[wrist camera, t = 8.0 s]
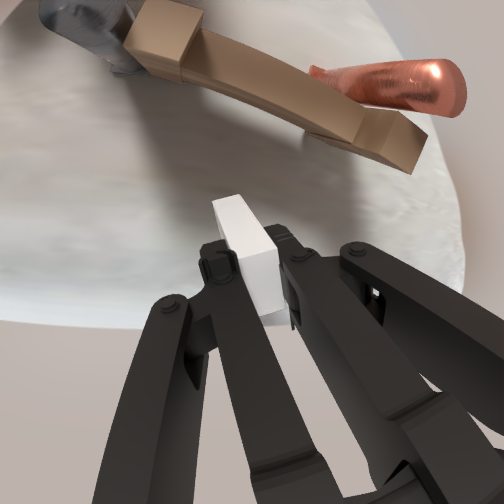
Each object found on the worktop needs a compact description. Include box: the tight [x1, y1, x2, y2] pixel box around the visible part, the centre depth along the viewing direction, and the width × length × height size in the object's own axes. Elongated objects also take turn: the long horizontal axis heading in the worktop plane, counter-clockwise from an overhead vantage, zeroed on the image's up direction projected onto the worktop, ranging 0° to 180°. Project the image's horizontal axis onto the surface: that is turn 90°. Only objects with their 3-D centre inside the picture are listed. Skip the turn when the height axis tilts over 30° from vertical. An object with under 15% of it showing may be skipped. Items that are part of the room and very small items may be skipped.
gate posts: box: [39, 0, 467, 118], centre depth 13 cm, size 17×4×13 cm, turn 75°
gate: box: [123, 0, 428, 175], centre depth 14 cm, size 2×13×11 cm, turn 67°
